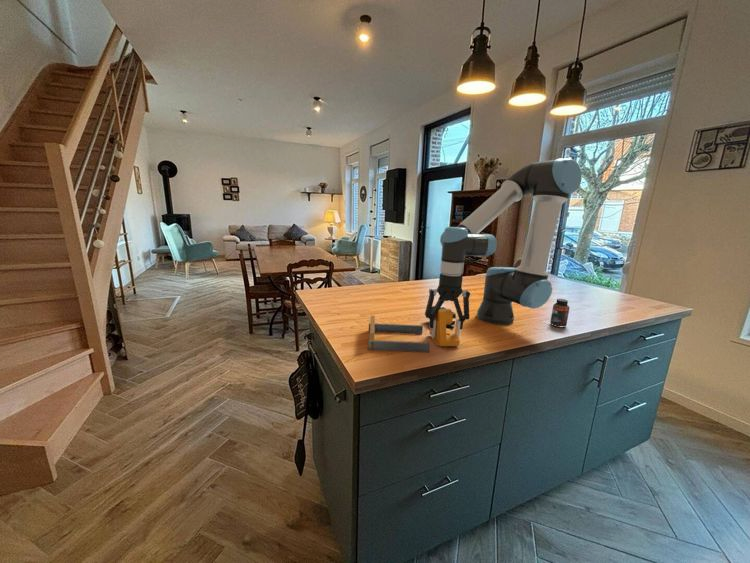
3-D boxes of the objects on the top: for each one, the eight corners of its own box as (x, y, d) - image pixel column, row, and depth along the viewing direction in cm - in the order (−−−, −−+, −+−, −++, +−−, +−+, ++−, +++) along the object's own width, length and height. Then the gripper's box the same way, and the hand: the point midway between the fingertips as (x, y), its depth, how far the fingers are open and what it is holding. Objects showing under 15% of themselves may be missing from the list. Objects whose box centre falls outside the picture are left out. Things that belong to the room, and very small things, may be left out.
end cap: (426, 321, 126) (427, 306, 124) (440, 320, 128) (442, 305, 127) (440, 330, 117) (441, 314, 115) (455, 328, 119) (456, 312, 118)
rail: (421, 332, 114) (422, 317, 112) (429, 352, 98) (430, 335, 97) (368, 330, 113) (369, 315, 112) (367, 349, 98) (368, 332, 96)
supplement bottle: (566, 325, 129) (571, 299, 126) (565, 329, 124) (570, 303, 121) (550, 321, 132) (555, 297, 129) (549, 325, 127) (553, 300, 124)
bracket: (460, 348, 102) (464, 314, 99) (439, 348, 101) (442, 314, 98) (448, 335, 113) (451, 304, 110) (429, 335, 112) (432, 304, 109)
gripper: (478, 272, 105) (470, 333, 110) (419, 270, 105) (414, 331, 110) (485, 277, 98) (477, 342, 103) (422, 274, 97) (417, 340, 103)
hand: (444, 336), depth 106 cm, fingers closed on bracket, 8 cm apart
